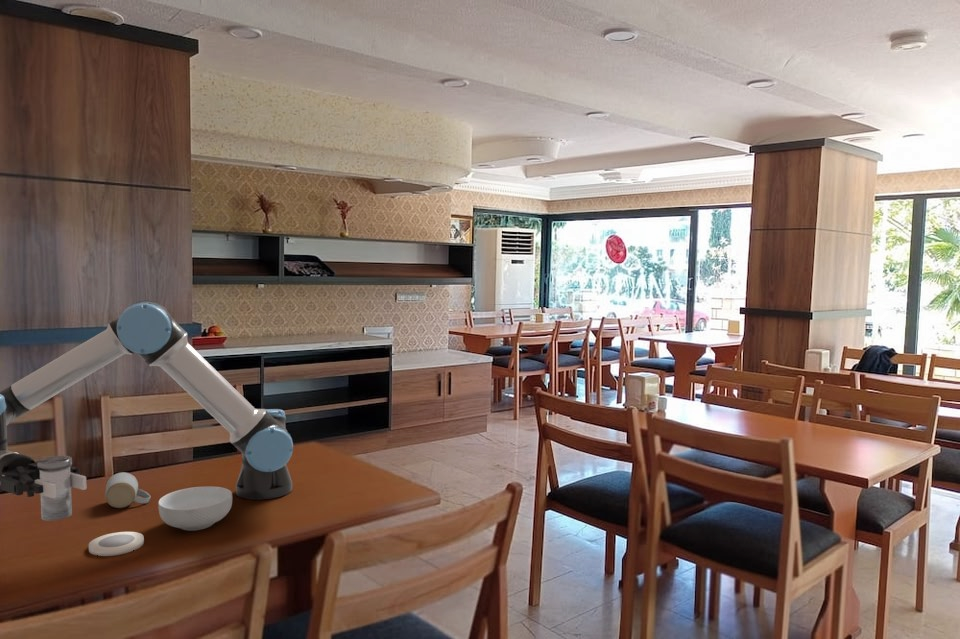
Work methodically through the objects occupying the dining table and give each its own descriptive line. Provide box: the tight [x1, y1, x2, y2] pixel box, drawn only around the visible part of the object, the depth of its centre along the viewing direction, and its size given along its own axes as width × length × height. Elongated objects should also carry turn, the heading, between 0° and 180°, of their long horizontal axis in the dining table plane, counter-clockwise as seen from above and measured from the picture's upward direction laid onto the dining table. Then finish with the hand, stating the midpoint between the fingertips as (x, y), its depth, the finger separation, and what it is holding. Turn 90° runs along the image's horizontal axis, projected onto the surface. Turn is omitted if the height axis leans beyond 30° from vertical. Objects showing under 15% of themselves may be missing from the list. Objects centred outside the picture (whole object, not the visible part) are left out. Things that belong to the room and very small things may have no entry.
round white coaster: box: [88, 531, 145, 557], centre depth 159 cm, size 11×11×1 cm
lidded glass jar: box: [36, 455, 73, 522], centre depth 148 cm, size 6×6×12 cm
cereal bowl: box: [157, 485, 233, 532], centre depth 172 cm, size 17×17×7 cm
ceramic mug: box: [104, 471, 151, 509], centre depth 186 cm, size 11×8×8 cm
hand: (69, 487), depth 145 cm, fingers closed on lidded glass jar, 5 cm apart
